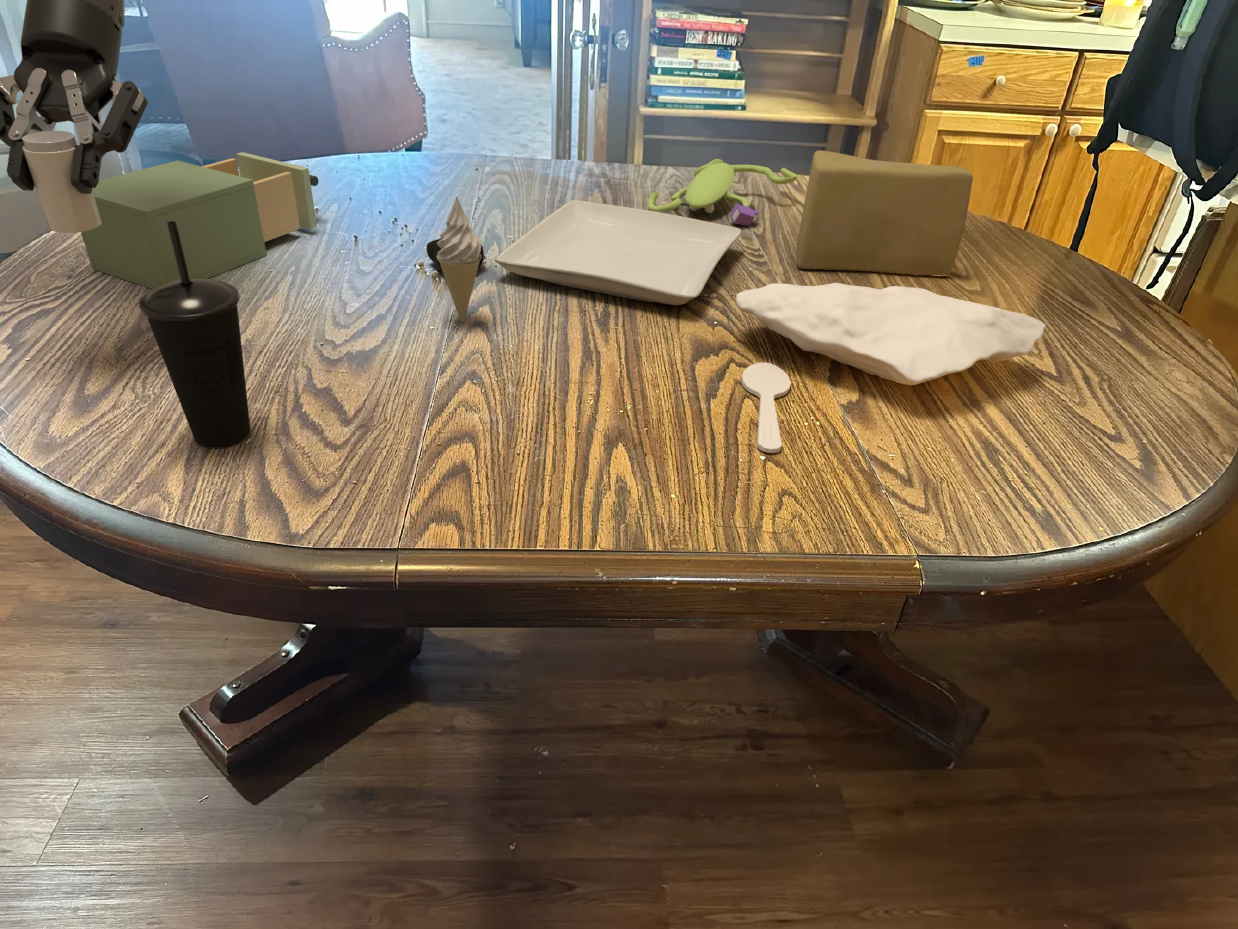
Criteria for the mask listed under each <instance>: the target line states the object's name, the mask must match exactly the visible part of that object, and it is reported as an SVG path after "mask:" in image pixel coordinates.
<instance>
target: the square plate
mask: <svg viewBox="0 0 1238 929" xmlns="http://www.w3.org/2000/svg"><path fill="white" fill-rule="evenodd" d="M741 234H742V228H740V227H735V226H730V225H725V224H720V223H715V222H711V221H706V220H701V219H696V218H691V217H687V216H682V215H677V214H670V213H667V212H665V213H660V212H654V211H650V210H649V209H642V208H635V207H630V206H629V207H628V206H621V205H614V204H606V203H599V202H594V201H593V202H592V201H585V200H577V199H571V200H568V201H567V202H565V203H564V204H563V205H562V206H560V207H558V208H557V209H556V210H554V211H553V212H552V213H550V214H549V215H548V216H546V217H545V218H544V219H543V220H541V221H540V222H538V223H537V224H536V225H534V226H533V227H532V228H530V230H529V229H528V231H527V232H526V233H524V234H523V235H522V236H520V237H519V238H518V239H516V240H515V241H514V242H513V243H511V244H510V245H509V246H507V247H506V248H505V249H504V250H503V251H501V252H500V253H499V254H498V255H497V256H496V257H495V258H494V262H495V263H496V264H498V265H500V267H502V268H503V269H505V270H507V271H509V272H510V273H513V274H516V275H519V276H523V277H528V278H532V279H536V280H541V281H544V282H547V283H550V284H555V285H559V286H565V287H569V288H574V289H575V288H576V289H580V290H585V291H590V292H595V293H601V294H604V295H605V294H606V295H610V296H614V297H621V298H625V299H630V300H635V301H640V302H648V303H660V304H665V305H672V306H682V305H685V304H687V303H689V301H691V300H693V299H694V298H697V297H698V296H700V294H701V292H703V290H704V287H705V286H706V284H707V282H708V280H709V278H710V276H711V275H712V273H713V272H714V270H715V268H716V266H717V264H718V263H719V261H720V260H721V259H722V258H723V256H724V255H725V254H726V253H727V251H728V250H729V249H730V248H731V247H732V246H733V244H734V243H735V242H736V241H737V240H738V238H740V236H741Z"/></svg>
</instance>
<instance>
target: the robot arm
mask: <svg viewBox="0 0 1238 929" xmlns="http://www.w3.org/2000/svg"><path fill="white" fill-rule="evenodd" d="M125 2H126V1H125V0H26V4H25V11H24V17H23V23H22V30H21V36H20V52H21V61H20V63H19V64H18V66H17V67H16V68H15V69H14V71H13V74H11V75H6V76H2V77H0V140H1V141H2V142H3V143H4V144H5V145H6V146H7V147H9V153H8V158H7V159H8V161H7V165H6V173H7V177H9V178H10V179H11V181H12V183H13V184H14V185H15V186H16V187H18V188H19V189H20V190H22V191H27V192H33V191H34V189H35V185H34V182H33V179H32V176H31V173H30V170H29V167H28V164H27V161H26V158H25V155H24V152H23V146H24V144H23V141H22V138H23V137H24V136H25V135H28V134H31V133H36V132H43V131H54V129H55V127H56V125H57V123H64V122H71V123H74V125H75V129H76V134H77V139H78V141H79V145H75V150H74V158H73V165H72V172H71V184H72V185H73V187H75V188H76V189H77V190H78V191H79V192H80V193H83V194H91V192H92V188H96V186H97V184H98V182H99V181H100V173H101V167H102V159H103V158H104V157H105V156H106V154H107V153H110V152H114V151H115V152H116V153H119V154H122V153H125V151H126V150H127V149H128V147H129V145H130V142H131V141H132V138H133V136H134V134H135V132H136V130H137V128H138V125H139V124H140V121H141V119H142V116H143V114H144V113H145V110H146V108H147V106H148V102H149V101H148V99H147V98H146V96H145V95H144V94H143V92H142V91H141V89H140V88H139V87H138V86H137V85H136V84H135V82H134V81H132V80H126V81H124V82H119V81H117V79H116V77H117V74H118V68H119V60H120V54H121V47H122V46H121V45H122V38H123V30H124V26H125V13H126V3H125ZM20 91H21V92H22V96H21V97H20V100H19V102H18V100H17V95H18V93H19V92H20ZM111 101H113V103H112V105H111V106H110V109H109V111H108V114H107V116H106V117H105V120H104V122H103V120H102V115H101V111H103V109H104V108H105V107H106V106H107V105H108V104H109V103H110V102H111ZM14 105H17V106H16V107H15V109H14ZM14 110H15V111H14ZM15 113H16V115H15ZM39 115H40V116H39Z"/></svg>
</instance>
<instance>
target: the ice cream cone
mask: <svg viewBox="0 0 1238 929" xmlns="http://www.w3.org/2000/svg"><path fill="white" fill-rule="evenodd" d="M458 197H459V196H458V195H457V196H455V200H454V203H453V205H452V207H451V211H450V213H449V215H448V217H447V219H446V221H445V224H446V229H445V230H444V231H442V232H441V233H439V237H440V238H442V240H440V241H438V242H437V245H438V246H439V247H440V248H441V249H442V250H440V251H439V252H438V255H437V259H438V260H439V262H440V265H441V267H442V270H443V272H442V273H443V276H444V279H445V282H446V286H447V288H448V290H449V294H450V296H451V299H452V302H453V304H454V308H455V310H456V314H457V316H458V319H459V322H461V323H464V322H465V321H466V317H467V313H468V309H469V305H470V301H471V297H472V294H473V289H474V284H475V280H476V277H477V273H478V270H479V268H478V265H479V261H480V260H481V258H482V256H481V254H480V252H481V245H482V240H481V239H480V237H479V236H478V235H477V233H476V232H475V231H474V230H473V229H472V227H471V219H469V217H468V216H467V215H466V213H465V211H464V209H463V207H462V205H461V201H460V199H459V198H458Z"/></svg>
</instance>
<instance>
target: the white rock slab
mask: <svg viewBox="0 0 1238 929" xmlns="http://www.w3.org/2000/svg"><path fill="white" fill-rule="evenodd" d="M735 305H736V307H737V308H738V310H740V311H741V312H744V313H746V314H749V315H753V316H754V317H755V318H757V319H758V320H759V321H760V322H761V323H762V324H764V325H765V326H766V327H767V328H768V329H769V330H771V331H773V332H776V333H777V334H779V335H781V336H782V337H784V338H787V339H790V340H791V341H792V342H793V343H794V344H795V345H796V346H797V347H798V348H800V349H801V350H802V351H805V352H812V353H815V354H819V355H820V354H821V355H824V356H826V357H828V358H830V359H832V360H834V361H836V362H839V363H840V364H844V365H847V366H851V367H854V368H856V369H858V370H861V371H863V372H864V373H867V374H868V375H871V376H878V377H880V378H882V379H885V380H889V381H893V382H895V383H896V384H901V385H907V386H916V385H918V384H922V383H925V382H928V381H932V380H937V379H938V378H942V377H944V376H946V375H949V374H954V373H955V374H956V373H960V372H963V371H965V370H968V369H970V368H971V367H972V366H973V365H974V364H975V363H976V362H977V361H983V360H987V361H997V362H1005V361H1009V360H1012V359H1014V358H1017V357H1023V356H1026V355H1028V354H1029V353H1030V352H1031V351H1032V350H1033V348H1034V346H1035V344H1036V343H1037V342H1039V341H1040V340H1041V339H1042V337H1043V335H1044V332H1045V329H1046V328H1047V326H1046V323H1044V322H1042V321H1041V320H1039V319H1038V318H1035V317H1032V316H1030V315H1028V314H1025V313H1021V312H1015V311H1011V310H1005V309H1002V308H999V307H996V306H991V305H987V304H983V303H979V302H973V301H969V300H964V299H959V298H955V297H951V296H947V295H946V296H945V295H940V294H937V293H935V292H934V291H933V292H932V291H930V290H929V289H926V288H922V287H911V286H901V285H890V286H887V287H884V288H881V289H880V288H879V289H878V288H874V287H870V286H860V285H850V284H845V283H839V282H833V283H832V282H831V283H828V284H827V283H826V284H820V285H799V284H790V283H779V282H777V283H770V284H767V285H765V286H762V287H759V288H751V289H745V290H743V291H740V292H738V293H737V295H736V296H735Z"/></svg>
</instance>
